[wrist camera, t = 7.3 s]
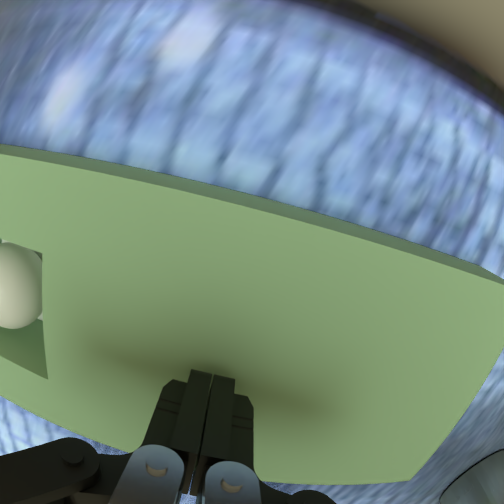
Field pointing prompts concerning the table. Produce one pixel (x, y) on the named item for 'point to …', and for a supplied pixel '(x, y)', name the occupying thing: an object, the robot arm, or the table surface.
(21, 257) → the ball
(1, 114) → the table surface
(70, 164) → the green
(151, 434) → the robot arm
